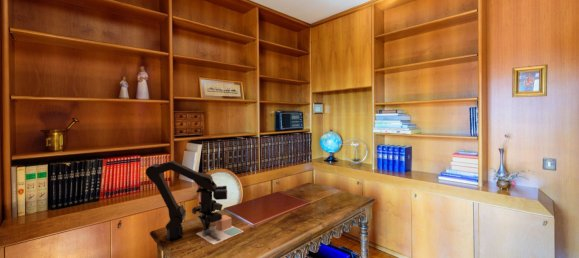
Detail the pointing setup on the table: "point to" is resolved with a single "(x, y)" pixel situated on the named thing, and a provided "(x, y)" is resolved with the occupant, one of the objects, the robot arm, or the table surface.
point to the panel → (221, 234)
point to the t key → (209, 231)
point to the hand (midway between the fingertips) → (206, 229)
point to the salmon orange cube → (224, 223)
